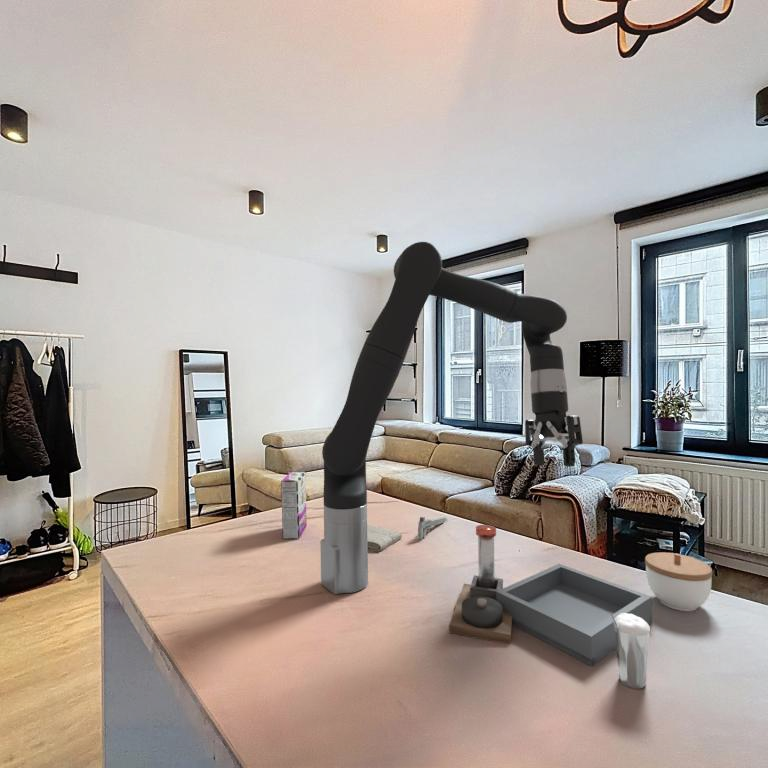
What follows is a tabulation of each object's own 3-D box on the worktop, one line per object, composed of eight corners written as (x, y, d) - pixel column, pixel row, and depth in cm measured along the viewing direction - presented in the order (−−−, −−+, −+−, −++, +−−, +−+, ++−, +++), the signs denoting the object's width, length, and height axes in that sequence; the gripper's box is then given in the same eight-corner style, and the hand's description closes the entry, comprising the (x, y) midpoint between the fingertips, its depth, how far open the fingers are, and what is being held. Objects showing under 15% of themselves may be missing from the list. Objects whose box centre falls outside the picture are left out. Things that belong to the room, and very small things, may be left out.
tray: (591, 666, 67) (591, 636, 66) (496, 616, 81) (496, 591, 81) (651, 622, 78) (651, 596, 78) (559, 585, 93) (559, 563, 93)
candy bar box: (290, 526, 133) (289, 471, 133) (307, 526, 133) (306, 471, 133) (281, 539, 122) (280, 480, 122) (299, 539, 122) (298, 480, 122)
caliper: (421, 542, 119) (421, 519, 119) (418, 541, 120) (417, 518, 120) (447, 520, 137) (447, 500, 137) (444, 520, 138) (444, 499, 138)
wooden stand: (510, 643, 72) (510, 616, 72) (449, 633, 76) (449, 607, 76) (514, 597, 88) (514, 575, 88) (464, 590, 91) (463, 569, 91)
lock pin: (487, 603, 83) (486, 532, 83) (472, 595, 86) (471, 527, 86) (501, 597, 85) (500, 528, 85) (485, 589, 88) (484, 523, 88)
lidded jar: (701, 594, 88) (700, 547, 88) (722, 622, 78) (721, 569, 78) (640, 586, 92) (639, 541, 92) (652, 612, 81) (652, 561, 81)
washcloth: (351, 529, 131) (350, 518, 131) (404, 539, 122) (403, 528, 122) (325, 541, 121) (325, 530, 121) (381, 554, 112) (381, 542, 112)
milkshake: (602, 672, 65) (601, 604, 65) (636, 670, 66) (636, 602, 66) (621, 694, 61) (620, 621, 61) (658, 691, 61) (657, 619, 61)
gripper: (513, 395, 103) (518, 465, 101) (560, 386, 90) (566, 467, 88) (538, 396, 106) (543, 464, 104) (587, 387, 93) (593, 466, 91)
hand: (554, 465), depth 96 cm, fingers open, 8 cm apart
